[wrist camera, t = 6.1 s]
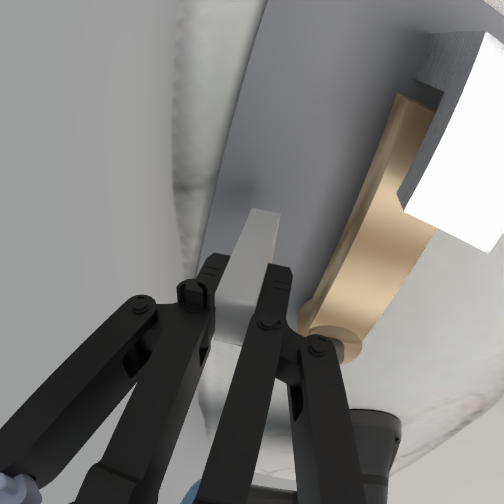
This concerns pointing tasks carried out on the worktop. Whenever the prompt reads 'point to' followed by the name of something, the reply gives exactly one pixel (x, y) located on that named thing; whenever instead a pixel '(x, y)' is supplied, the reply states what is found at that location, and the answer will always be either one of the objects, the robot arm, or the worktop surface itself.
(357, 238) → the brass link
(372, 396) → the worktop surface
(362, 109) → the board
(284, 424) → the worktop surface
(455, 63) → the block
